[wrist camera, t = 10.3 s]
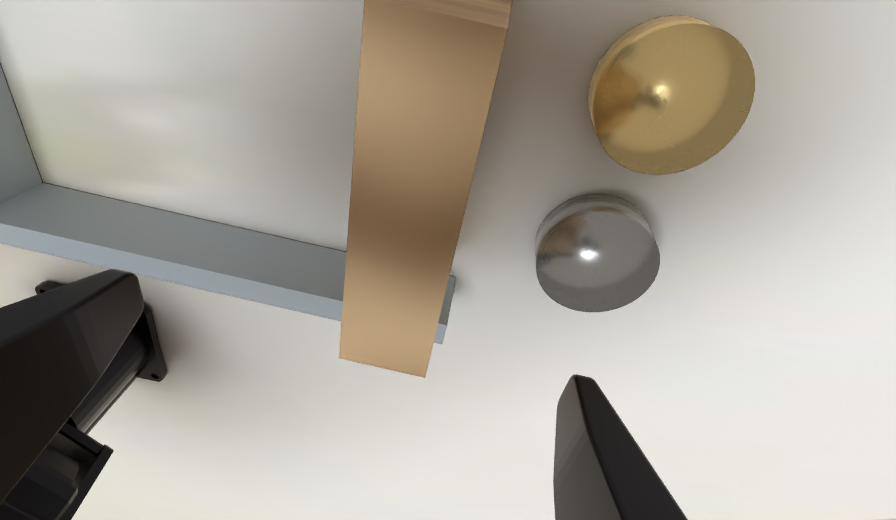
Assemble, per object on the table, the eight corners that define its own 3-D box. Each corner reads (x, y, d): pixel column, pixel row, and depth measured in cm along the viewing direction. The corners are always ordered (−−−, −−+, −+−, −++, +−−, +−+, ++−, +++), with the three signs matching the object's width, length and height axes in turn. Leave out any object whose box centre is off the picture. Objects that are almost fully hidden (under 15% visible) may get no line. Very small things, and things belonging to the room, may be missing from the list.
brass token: (692, 165, 19) (708, 187, 17) (570, 139, 19) (574, 159, 17) (760, 30, 16) (787, 41, 14) (616, 1, 16) (626, 8, 14)
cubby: (451, 295, 24) (441, 344, 21) (26, 198, 24) (-40, 234, 21) (551, -105, 14) (558, -114, 12) (-154, -267, 14) (-320, -316, 12)
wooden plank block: (453, 249, 22) (425, 377, 16) (392, 234, 22) (338, 357, 16) (513, -11, 16) (507, 28, 10) (428, -30, 16) (364, -5, 10)
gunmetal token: (622, 295, 23) (629, 322, 21) (522, 271, 23) (522, 297, 21) (669, 207, 20) (682, 231, 18) (555, 180, 20) (558, 202, 18)
